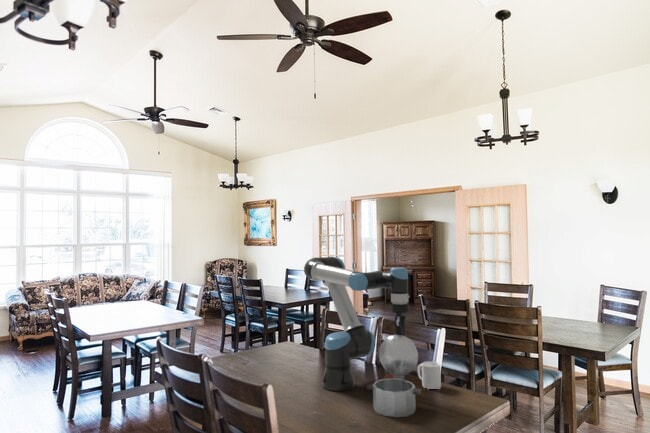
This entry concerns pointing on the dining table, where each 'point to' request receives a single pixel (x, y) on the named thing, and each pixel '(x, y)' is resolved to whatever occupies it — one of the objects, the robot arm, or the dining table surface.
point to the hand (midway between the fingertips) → (401, 357)
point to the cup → (430, 375)
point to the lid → (398, 355)
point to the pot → (394, 397)
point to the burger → (390, 377)
